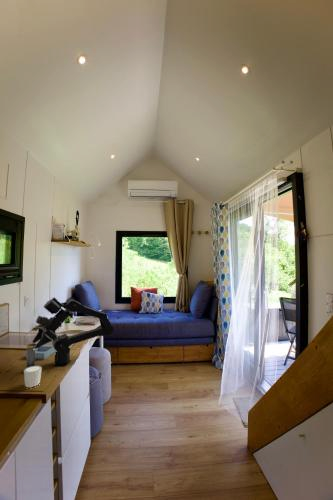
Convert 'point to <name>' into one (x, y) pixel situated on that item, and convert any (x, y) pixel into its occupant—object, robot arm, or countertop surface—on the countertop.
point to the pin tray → (43, 352)
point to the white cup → (32, 376)
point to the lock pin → (30, 355)
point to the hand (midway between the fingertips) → (34, 345)
